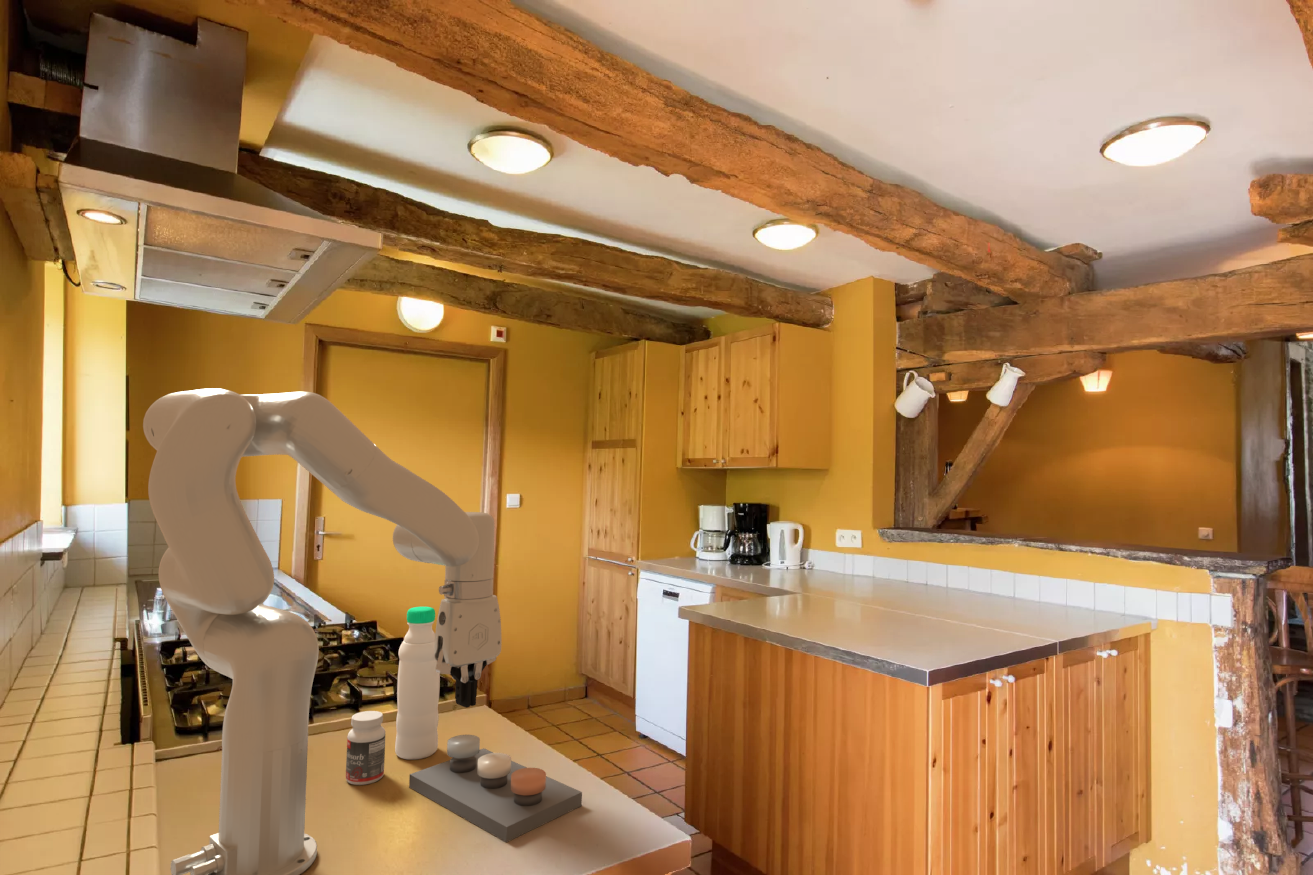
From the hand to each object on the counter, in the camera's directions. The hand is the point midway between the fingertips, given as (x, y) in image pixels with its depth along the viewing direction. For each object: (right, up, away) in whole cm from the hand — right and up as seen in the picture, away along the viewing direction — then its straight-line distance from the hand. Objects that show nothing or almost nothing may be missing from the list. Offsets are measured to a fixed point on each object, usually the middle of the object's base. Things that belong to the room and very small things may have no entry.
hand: (465, 704), depth 115 cm
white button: (+6, -8, -5) cm, 11 cm away
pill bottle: (-16, -12, 0) cm, 20 cm away
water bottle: (-11, -12, +10) cm, 19 cm away
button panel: (+6, -12, -6) cm, 14 cm away
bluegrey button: (0, -8, 0) cm, 7 cm away
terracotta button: (+12, -8, -11) cm, 18 cm away
